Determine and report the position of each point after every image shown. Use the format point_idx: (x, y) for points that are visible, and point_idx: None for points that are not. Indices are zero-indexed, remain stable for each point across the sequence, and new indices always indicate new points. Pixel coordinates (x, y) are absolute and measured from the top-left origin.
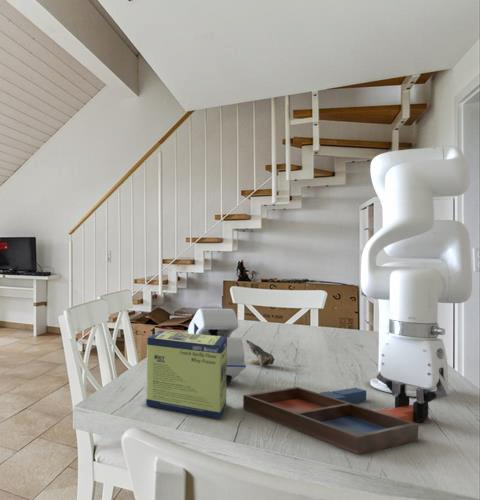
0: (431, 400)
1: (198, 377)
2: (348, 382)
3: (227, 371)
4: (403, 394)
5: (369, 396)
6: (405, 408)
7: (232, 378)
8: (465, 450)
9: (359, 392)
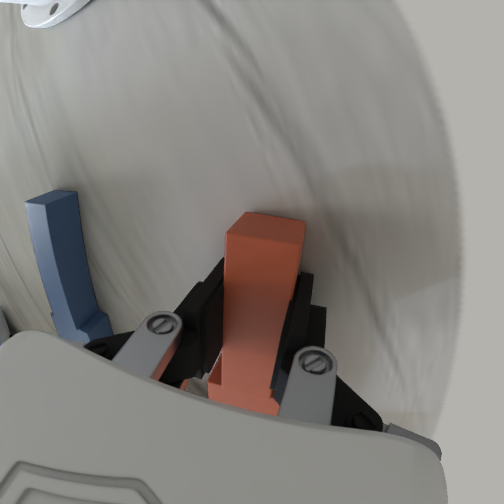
0: (340, 380)
1: None
2: (5, 59)
3: None
4: (192, 363)
5: (56, 120)
6: (245, 354)
7: (6, 329)
8: (431, 413)
9: (54, 246)
